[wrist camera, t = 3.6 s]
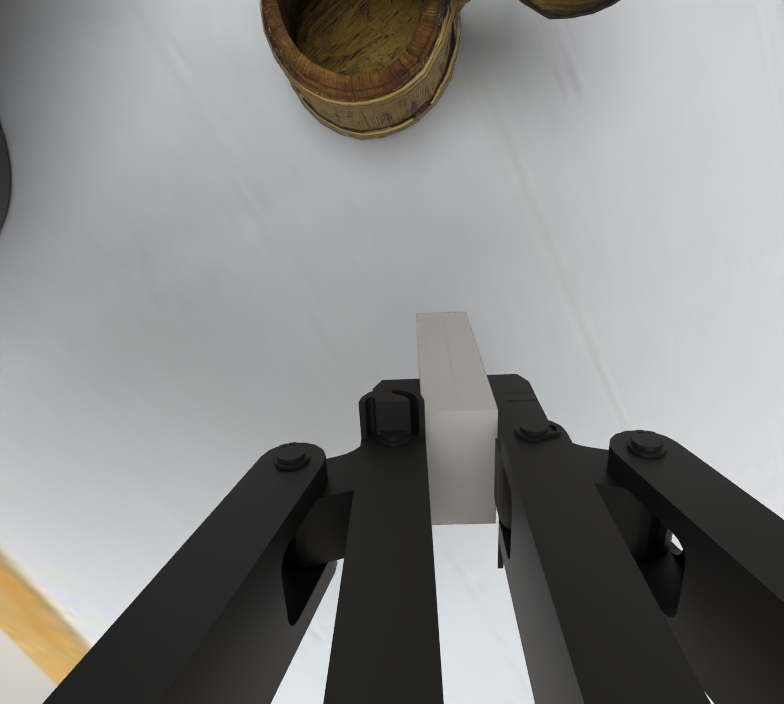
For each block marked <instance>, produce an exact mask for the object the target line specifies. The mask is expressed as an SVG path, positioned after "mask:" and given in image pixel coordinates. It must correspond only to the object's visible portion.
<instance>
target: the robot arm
mask: <svg viewBox="0 0 784 704" xmlns="http://www.w3.org/2000/svg"><path fill="white" fill-rule="evenodd" d="M9 192H10V169H9V160H8V154H7V149H6V145H5V141H4V137H3V134H2V131H1V128H0V227H1V225H2V223H3V220H4V217H5V214H6V210H7V206H8V201H9ZM417 336H418V365H419V379H402V380H382V381H381V382H380V383H379V384H378V385H376V386H375V387H374V388H373V391H372V392H369V393H368V394H366V395H364V396H363V397H362V398H361V399H360V401H359V414H360V426H361V445H360V447H358V448H357V449H356V450H354V451H352V452H350V453H347V454H344V455H341V456H337V457H333V458H328V459H326V455H325V453H324V451H323V449H321V448H320V447H318V446H316V445H313V444H309V443H296V442H293V443H289V444H283V445H280V446H278V447H276V448H273V449H271V450H269V451H268V452H266V453H265V454H264V455H263V456H261V457H260V459H259V460H258V461H257V462H256V463H255V464H254V465H253V466H252V468H251V469H250V470H249V471H248V472H247V473H246V474H245V476H244V477H243V478H242V479H241V480H240V481H239V482H238V483H237V485H236V486H235V487H234V488H233V489H232V490H231V491H230V492H229V494H228V495H227V496H226V497H225V498H224V499H223V500H222V501H221V503H220V504H219V505H218V506H217V507H216V508H215V509H214V511H213V512H212V513H211V514H210V515H209V516H208V517H207V518H206V520H205V521H204V522H203V523H202V524H201V525H200V526H199V527H198V529H197V530H196V531H195V532H194V533H193V534H192V535H191V536H190V538H189V539H188V540H187V541H186V542H185V543H184V544H183V546H182V547H181V548H180V549H179V550H178V551H177V552H176V553H175V555H174V556H173V557H172V558H171V559H170V560H169V561H168V562H167V564H166V565H165V566H164V567H163V568H162V569H161V570H160V571H159V573H158V574H157V575H156V576H155V577H154V578H153V579H152V581H151V582H150V583H149V584H148V585H147V586H146V587H145V588H144V590H143V591H142V592H141V593H140V594H139V595H138V596H137V597H136V599H135V600H134V601H133V602H132V603H131V604H130V605H129V606H128V608H127V609H126V610H125V611H124V612H123V613H122V614H121V616H120V617H119V618H118V619H117V620H116V621H115V622H114V623H113V625H112V626H111V627H110V628H109V629H108V630H107V631H106V632H105V634H104V635H103V636H102V637H101V638H100V639H99V640H98V641H97V643H96V644H95V645H94V646H93V647H92V648H91V649H90V651H89V652H88V653H87V654H86V655H85V656H84V657H83V658H82V660H81V661H80V662H79V663H78V664H77V665H76V666H75V667H74V669H73V670H72V671H71V672H70V673H69V674H68V675H67V676H66V678H65V679H64V680H63V681H62V682H61V683H60V684H59V686H58V687H57V688H56V689H55V690H54V691H53V692H52V693H51V695H50V696H49V697H48V698H47V699H46V700H45V701H44V703H43V704H271V702H272V700H273V698H274V696H275V694H276V692H277V689H278V687H279V685H280V683H281V681H282V679H283V677H284V675H285V673H286V671H287V669H288V667H289V665H290V663H291V661H292V659H293V657H294V655H295V653H296V651H297V649H298V647H299V645H300V643H301V641H302V639H303V636H304V634H305V632H306V630H307V628H308V626H309V624H310V622H311V620H312V618H313V616H314V614H315V612H316V610H317V608H318V606H319V604H320V602H321V600H322V598H323V596H324V594H325V592H326V590H327V588H328V586H329V583H330V581H331V579H332V577H333V575H334V573H335V571H336V566H337V560H339V559H342V558H344V563H343V570H342V577H341V584H340V591H339V598H338V605H337V612H336V619H335V626H334V633H333V640H332V647H331V654H330V661H329V668H328V675H327V682H326V689H325V696H324V703H323V704H444V701H443V686H442V672H441V657H440V642H439V627H438V613H437V598H436V583H435V568H434V553H433V539H432V525H447V524H489V523H496V507H497V511H498V516H499V537H498V568H503V565H504V566H505V570H506V575H507V579H508V584H509V588H510V593H511V597H512V602H513V606H514V611H515V615H516V620H517V624H518V629H519V633H520V638H521V642H522V647H523V651H524V656H525V660H526V665H527V669H528V674H529V678H530V683H531V687H532V692H533V696H534V701H535V704H711V703H710V701H709V699H708V697H707V696H706V694H707V695H708V696H709V698H710V699H711V700H712V701H713V703H714V704H784V520H783V519H782V518H781V517H779V516H778V515H776V514H775V513H774V512H772V511H771V510H770V509H768V508H767V507H765V506H764V505H763V504H761V503H760V502H759V501H757V500H756V499H754V498H753V497H752V496H750V495H749V494H748V493H746V492H745V491H743V490H742V489H741V488H739V487H738V486H737V485H735V484H734V483H732V482H731V481H730V480H728V479H727V478H725V477H724V476H723V475H721V474H720V473H719V472H717V471H716V470H714V469H713V468H712V467H710V466H709V465H708V464H706V463H705V462H703V461H702V460H701V459H699V458H698V457H697V456H695V455H694V454H692V453H691V452H690V451H688V450H687V449H686V448H684V447H683V446H681V445H680V444H679V443H677V442H676V441H674V440H672V439H670V438H668V437H666V436H663V435H660V434H657V433H655V432H652V431H644V430H635V431H624V432H621V433H618V434H615V435H614V436H613V437H612V438H611V439H610V445H609V450H605V449H598V448H591V447H586V446H581V445H577V444H574V443H572V441H571V439H570V437H569V436H568V434H567V432H566V431H565V430H564V429H563V428H562V426H560V425H558V424H556V423H554V422H552V421H549V420H548V419H547V417H546V415H545V413H544V411H543V409H542V407H541V405H540V403H539V401H538V399H537V397H536V395H535V393H534V391H533V389H532V387H531V385H530V383H529V382H528V381H527V380H525V379H524V378H522V377H521V376H519V375H518V374H504V375H486V372H485V369H484V366H483V363H482V360H481V357H480V354H479V351H478V348H477V345H476V342H475V339H474V336H473V333H472V330H471V327H470V324H469V321H468V318H467V315H466V312H448V313H422V314H417ZM672 534H674V535H675V536H676V537H677V539H678V540H679V542H680V544H681V546H682V548H683V551H681V550H680V549H679V548H677V547H676V546H675V545H674V544H673V543H672V542H671V540H672ZM704 691H705V692H704ZM705 693H706V694H705Z"/></svg>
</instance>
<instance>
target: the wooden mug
mask: <svg viewBox="0 0 784 704" xmlns="http://www.w3.org/2000/svg"><path fill="white" fill-rule="evenodd" d="M469 1H470V0H260V10H261V16H262V23H263V30H264V33H265V36H266V38H267V41H268V43H269V46H270V48H271V51H272V53H273V55H274V58H275V60H276V61H277V63H278V64H279V66H280V67H281V69H282V70H283V71H284V73H285V75H286V76H287V78H288V79H289V81H290V83H291V86H292V87H293V89H294V91H295V92H296V94H297V96H298V97H299V99H300V100H301V102H302V104H303V105H304V107H305V108H306V109H307V110H308V111H309V112H310V113H311V114H312V115H313V116H314V117H315V118H316V119H317V120H318V121H319V122H320V123H321V124H323V125H325V126H326V127H328V128H330V129H332V130H334V131H335V132H337V133H339V134H341V135H345V136H349V137H353V138H357V139H361V140H363V139H373V138H382V137H385V136H388V135H390V134H393V133H396V132H399V131H401V130H404V129H405V128H407V127H409V126H411V125H412V124H414V123H416V122H417V121H419V120H420V119H421V118H422V117H423V116H424V115H425V114H426V113H427V112H428V111H429V110H430V109H431V108H432V107H433V106H434V105H435V104H436V103H437V102H438V100H439V98H440V97H441V95H442V94H443V92H444V90H445V89H446V87H447V85H448V84H449V82H450V80H451V77H452V73H453V69H454V65H455V61H456V57H457V53H458V46H459V39H460V32H461V18H460V10H461V9H462V8H463V6H464V5H465V4H466V3H468V2H469ZM520 1H521V3H523V4H525V5H526V6H528V7H530V8H531V9H533V10H535V11H536V12H538V13H539V14H541V15H543V16H544V17H546V18H548V19H568V18H575V17H580V16H585V15H590V14H594V13H596V12H598V11H601V10H603V9H605V8H607V7H610V6H612V5H614V4H615V3H617V2H618V1H620V0H520Z"/></svg>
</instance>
